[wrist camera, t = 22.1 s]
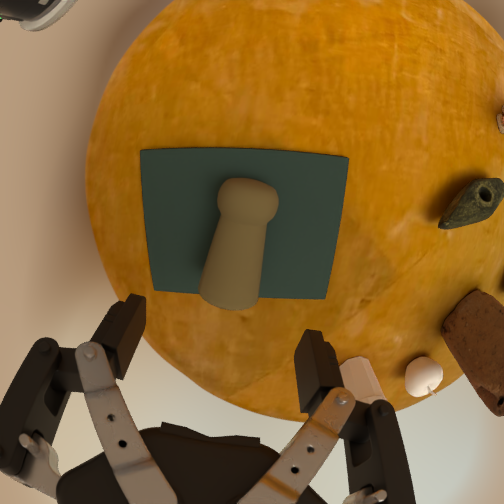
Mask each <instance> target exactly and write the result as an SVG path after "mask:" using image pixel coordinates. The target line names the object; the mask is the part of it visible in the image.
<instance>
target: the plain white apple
mask: <svg viewBox="0 0 504 504" xmlns="http://www.w3.org/2000/svg"><path fill="white" fill-rule="evenodd" d="M442 378H443V370H442V368H441V366H440V365H439V363H437V362H436V361H434V360H432V359H430V358H428V357H419V358H417V359H415V360H413V361H412V362H411V363H410V364H409V365H408V366H407V368H406V375H405V387H406V390H407V392H408V393H409V394H411V395H412V396H415V397H420V396H423V395H426V394H428V393H431V394H433V395H435V396H437V394H436V393H434V392H433V391H432V390H434V389H435V388H436V387H437V386H438V385H439V384H440V382H441V381H442Z"/></svg>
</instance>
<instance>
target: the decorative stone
mask: <svg viewBox="0 0 504 504" xmlns="http://www.w3.org/2000/svg"><path fill="white" fill-rule="evenodd" d="M503 197H504V183H503V181H502V180H501V179H500V178H483V179H475V180H473V181H471V182H470V183H468V184H467V185H466V186H465V187H464V188H463V189H462V190H461V191H460V192H459V193H458V194H457V196H456V197H455V198H454V199H453V200H452V202H451V203H450V204H449V206H448V207H447V209H446V210H445V212H444V213H443V215H442V217H441V219H440V221H439V224H438V228H440V229H453V228H458V227H462V226H466V225H469V224H473V223H477V222H480V221H483V220H486V219H487V218H489V217H490V216H491V215H492V214H493V213H494V211H495V210H496V208H497V207H498V205H499V203H500V202H501V201H502V199H503Z"/></svg>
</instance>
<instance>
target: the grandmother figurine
mask: <svg viewBox="0 0 504 504" xmlns="http://www.w3.org/2000/svg"><path fill="white" fill-rule="evenodd" d="M502 112H503V114H504V105H503V106H502ZM497 123H498V127H499V130H500V132H501V133H504V117H503V115H502V114H498V115H497Z"/></svg>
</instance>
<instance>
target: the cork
mask: <svg viewBox="0 0 504 504" xmlns="http://www.w3.org/2000/svg"><path fill="white" fill-rule="evenodd" d="M217 203H218V208H219V210H220V212H221V216H220V219H219V222H218V225H217V228H216V231H215V234H214V237H213V240H212V243H211V246H210V250H209V253H208V256H207V259H206V262H205V266H204V269H203V272H202V275H201V279H200V282H199V285H198V291H199V294H200V295H201V297H202V298H203V299H204V300H205V301H207V302H208V303H210V304H211V305H214V306H216V307H219V308H222V309H227V310H244V309H248V308H250V307H252V306H254V305H255V304H256V302H257V301H258V296H259V288H260V280H261V271H262V263H263V254H264V245H265V237H266V228H267V223H268V222H269V221H270V220H271V219H272V218H273V217H274V216H275V214H276V212H277V209H278V205H279V198H278V195H277V192H276V190H275V189H274V188H273V187H271V186H270V185H268V184H266V183H263V182H261V181H258V180H254V179H249V178H231V179H228V180H226V181H225V182H224V183H223V184H222V186H221V188H220V190H219V192H218V197H217Z"/></svg>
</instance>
